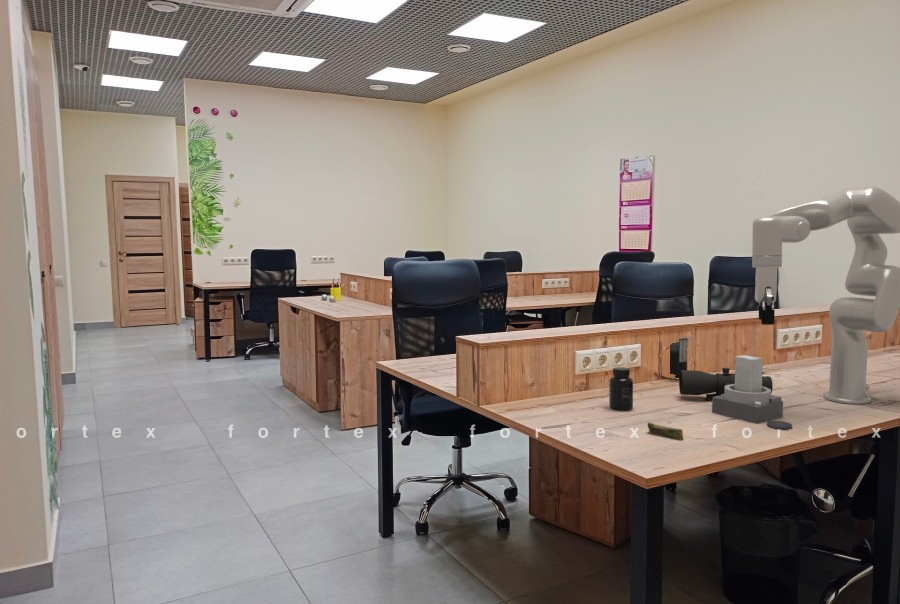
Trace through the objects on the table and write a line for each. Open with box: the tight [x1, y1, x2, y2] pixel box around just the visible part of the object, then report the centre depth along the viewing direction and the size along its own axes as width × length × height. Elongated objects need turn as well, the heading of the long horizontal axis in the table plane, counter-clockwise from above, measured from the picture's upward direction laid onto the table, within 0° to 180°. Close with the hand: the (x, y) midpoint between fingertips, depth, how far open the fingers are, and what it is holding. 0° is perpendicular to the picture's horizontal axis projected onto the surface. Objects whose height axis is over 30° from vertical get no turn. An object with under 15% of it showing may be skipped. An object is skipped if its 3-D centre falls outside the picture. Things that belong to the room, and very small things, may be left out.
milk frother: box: [670, 338, 689, 378], centre depth 234 cm, size 14×16×15 cm
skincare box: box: [734, 354, 764, 393], centre depth 185 cm, size 6×4×12 cm
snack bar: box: [647, 421, 684, 441], centre depth 166 cm, size 10×2×3 cm, turn 43°
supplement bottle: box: [608, 366, 634, 412], centre depth 193 cm, size 7×7×12 cm
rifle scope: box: [678, 367, 774, 402], centre depth 203 cm, size 10×26×10 cm, turn 78°
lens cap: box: [766, 420, 793, 431], centre depth 174 cm, size 6×6×1 cm
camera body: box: [711, 384, 784, 424], centre depth 186 cm, size 12×14×8 cm
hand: (766, 321), depth 186 cm, fingers open, 9 cm apart
